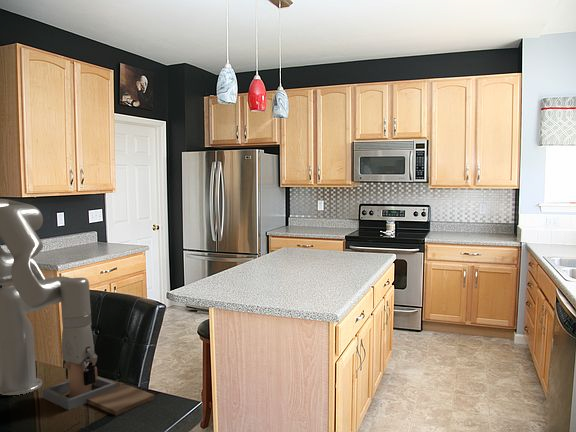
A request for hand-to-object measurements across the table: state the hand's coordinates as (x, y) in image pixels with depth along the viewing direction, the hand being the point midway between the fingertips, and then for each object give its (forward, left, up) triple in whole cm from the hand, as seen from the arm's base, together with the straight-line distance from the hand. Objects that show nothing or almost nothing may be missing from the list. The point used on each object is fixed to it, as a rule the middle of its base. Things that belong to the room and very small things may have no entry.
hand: (80, 380), depth 135 cm
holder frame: (0, 0, -4) cm, 4 cm away
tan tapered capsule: (0, 0, -4) cm, 4 cm away
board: (+14, +4, -4) cm, 15 cm away
